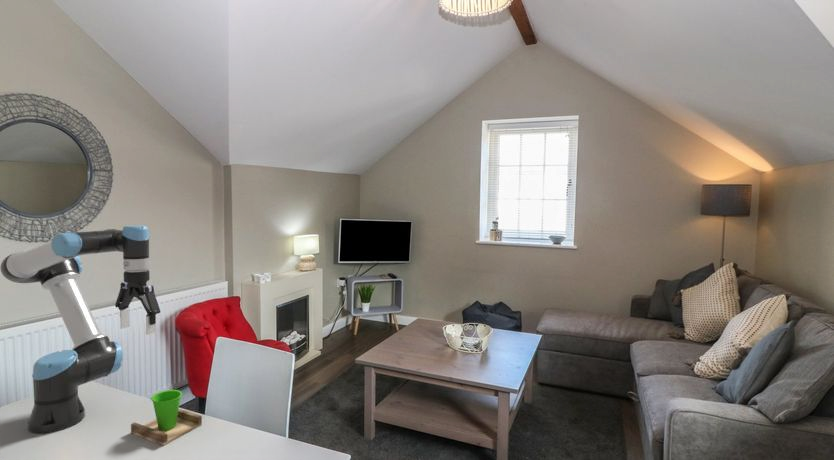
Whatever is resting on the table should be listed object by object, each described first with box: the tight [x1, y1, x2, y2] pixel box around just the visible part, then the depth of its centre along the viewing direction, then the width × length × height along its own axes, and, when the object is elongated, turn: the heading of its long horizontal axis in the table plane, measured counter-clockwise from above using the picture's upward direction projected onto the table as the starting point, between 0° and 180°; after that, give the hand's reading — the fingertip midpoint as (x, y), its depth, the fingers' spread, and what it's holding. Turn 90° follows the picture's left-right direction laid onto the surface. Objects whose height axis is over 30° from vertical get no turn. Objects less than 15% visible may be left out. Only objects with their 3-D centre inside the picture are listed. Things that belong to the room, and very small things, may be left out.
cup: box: [150, 389, 183, 431], centre depth 147 cm, size 9×9×11 cm
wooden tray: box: [130, 408, 203, 446], centre depth 148 cm, size 16×14×3 cm
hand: (137, 330), depth 152 cm, fingers open, 13 cm apart
